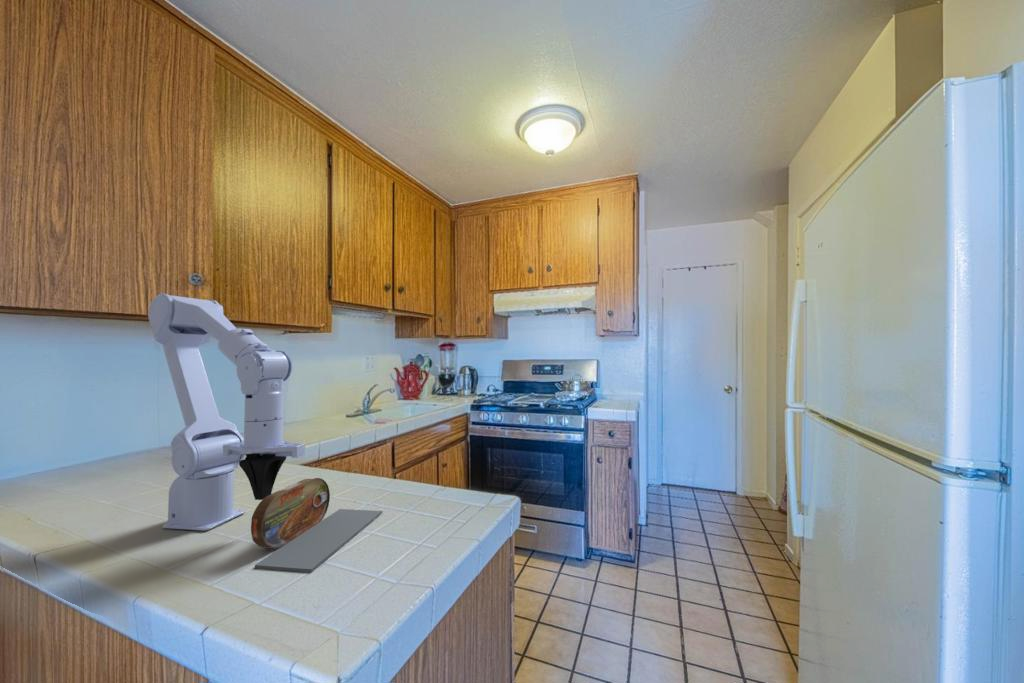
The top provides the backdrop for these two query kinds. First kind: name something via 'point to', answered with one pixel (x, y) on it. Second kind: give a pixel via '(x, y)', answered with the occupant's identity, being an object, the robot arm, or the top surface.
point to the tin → (289, 512)
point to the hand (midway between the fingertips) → (262, 497)
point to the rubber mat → (319, 541)
